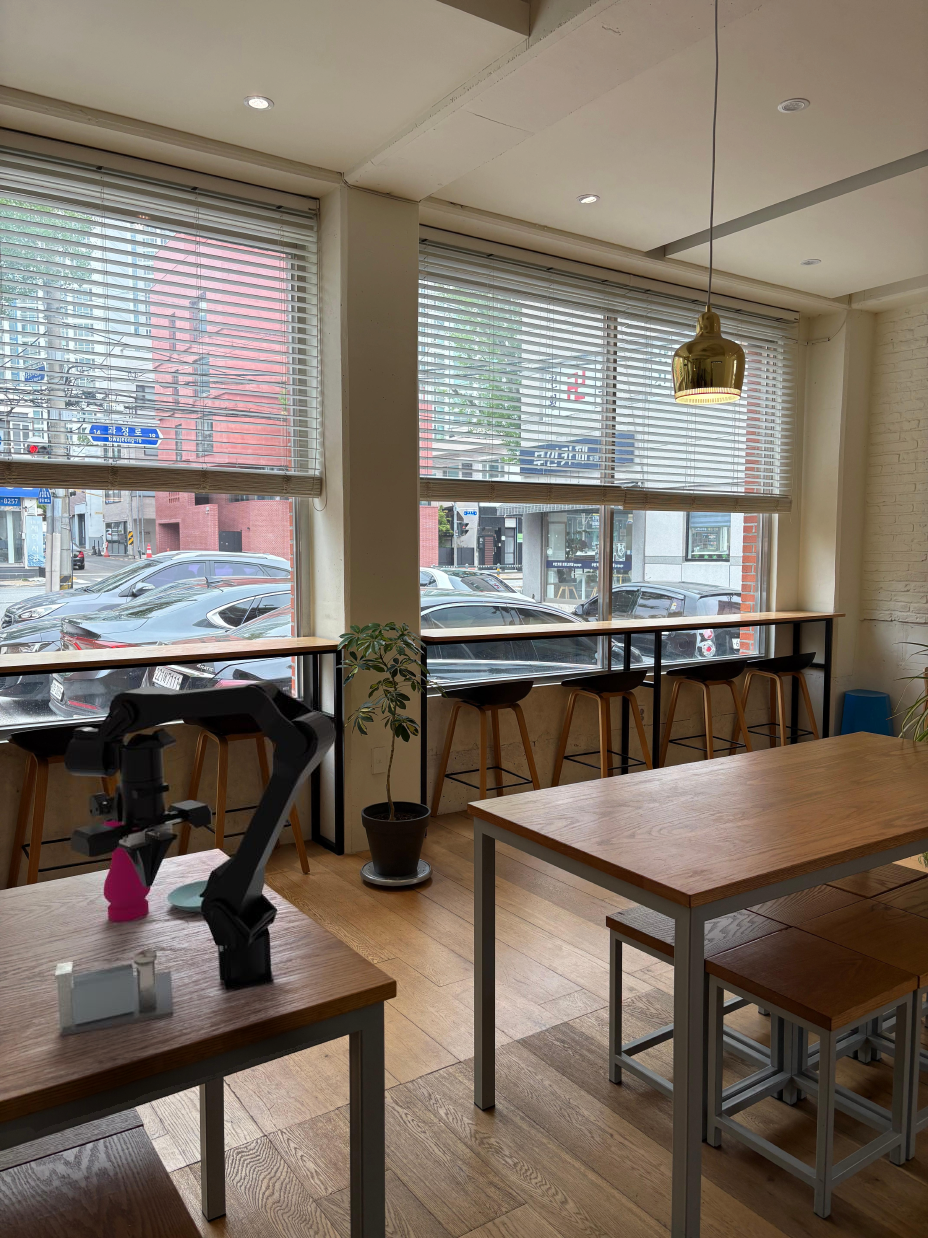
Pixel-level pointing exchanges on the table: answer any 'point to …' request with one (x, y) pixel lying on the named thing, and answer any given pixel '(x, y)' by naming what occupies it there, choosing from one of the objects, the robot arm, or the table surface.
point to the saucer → (188, 896)
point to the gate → (103, 993)
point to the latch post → (65, 994)
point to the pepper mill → (124, 887)
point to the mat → (161, 1011)
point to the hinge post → (146, 980)
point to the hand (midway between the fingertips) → (147, 886)
